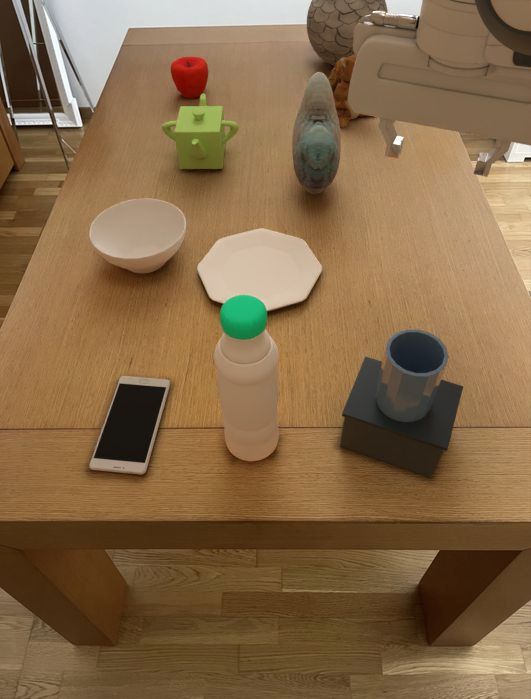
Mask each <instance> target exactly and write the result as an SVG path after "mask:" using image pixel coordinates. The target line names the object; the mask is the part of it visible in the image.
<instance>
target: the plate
mask: <svg viewBox="0 0 531 699" xmlns="http://www.w3.org/2000/svg"><path fill="white" fill-rule="evenodd" d="M196 271H197V274H198V275H199V278H200V280H201V283H202V284H203V287H204V289H205V291H206V294H207V296H208V298H209V300H211V301H212V302H214V303H217V304H220V305H223V304H224V303H225V302H226V301H227V300H229V299H230V298H232V297H235V296H236V295H237V296H239V295H249V296H250V295H251V296H254V297H255V298H258V299H259V300H261V302H263V303H264V305H265V307H266V309H267V313H269V312H273V311H276V310H280V309H283V308H286V307H290V306H294V305H297V304H301V303H303V302H304V301H305V300H307V299H308V297H309V295H310V294H311V292H312V290H313V288H314V286H315V284H316V282H317V281H318V279H319V278H320V275H321V274H322V273H323V266H322V264H321V263H320V261H319V259H318V258H317V257H316V255H315V253H314V252H313V250H312V249H311V248H310V246H309V245H308V243H307V242H306V240H304V239H303V238H301V237H297V236H293V235H290V234H286V233H282V232H279V231H275V230H271V229H268V228H260V227H259V228H255V229H251V230H247V231H244V232H243V231H242V232H239V233H235V234H231V235H227V236H223V237H221V238H219V239H218V240H216V241H215V242H214V244H212V246H211V248H210V249H209V251H207V253H206V254H205V255H204V257H203V258H202V259H201V261H199V263H198V264H197V266H196Z"/></svg>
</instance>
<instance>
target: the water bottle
mask: <svg viewBox="0 0 531 699" xmlns="http://www.w3.org/2000/svg"><path fill="white" fill-rule="evenodd" d="M219 322H220V325H221V329H222V332H223V333H222V335H221V337H220V338H219V340H218V342H217V343H216V345H215V347H214V352H213V353H214V354H213V362H214V366H215V369H216V380H217V381H216V382H217V389H218V390H217V391H218V396H219V397H218V398H219V403H220V407H221V412H222V414H221V418H222V425H223V428H224V429H223V430H224V433H223V434H224V441H225V445H226V447H227V449H228V451H229V453H231V454H232V455H233V456H234V457H235V458H237V459H239V460H241V461H245V462H257V461H258V462H259V461H261V460H264V459H266V458H268V457H269V456H271V454H273V452H274V451H276V448H277V446H278V443H279V438H280V432H279V416H280V415H279V408H278V405H279V404H278V403H279V393H280V392H279V388H280V386H279V384H280V382H279V368H278V364H279V360H280V359H279V358H280V354H279V349H278V346H277V343H276V342H275V340H274V338H273V337H272V336H271V335H270V334H269V332H268V330H266V329H267V324H268V312H267V309H266V307H265V305H264V303H263V302H261V300H259V299H258V298H255V297H254V296H251V295H250V296H249V295H239V296H237V295H236V296H235V297H232V298H230V299H229V300H227V301H226V302H225V303H224V304H221V307H220V310H219Z"/></svg>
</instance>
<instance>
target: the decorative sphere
mask: <svg viewBox="0 0 531 699" xmlns="http://www.w3.org/2000/svg"><path fill="white" fill-rule="evenodd" d="M373 11H384V12H387V13H389V12H388V11H389V10H388V6H387V2H386V0H311V1H310V3H309V7H308V10H307V15H306V32H307V37H308V40H309V43H310V46H311V47H312V49H313V51H314V52H315V53H316V55H317V56H318V57H319V58H320V59H321V60H322V61H323V62H325V63H327V64H329V65H330V66H333V67H335V65H336V63H337V61H339V60H340V59H341V58H343V57H345V58H348V57H349V56H352V55H355V53H354V50H353V38H354V29H355V26H356V24H357V22H358V21H359V20H360V19H361V18H362V17H364V16H366V15H371V13H372V12H373ZM365 22H370V20H367V21H365Z"/></svg>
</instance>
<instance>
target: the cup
mask: <svg viewBox="0 0 531 699" xmlns="http://www.w3.org/2000/svg"><path fill="white" fill-rule="evenodd" d="M449 356H450V355H449V352H448V349H447V346H446V345H445V344H444V342H443V341H442V340H441V339H440V338H439V337H437V336H436V335H434V334H433V333H431V332H429V331H425V330H422V329H416V328H415V329H414V328H413V329H412V328H411V329H409V328H408V329H407V328H406V329H403V330H400V331H398V332H395V333H394V334H393V335H392V336H391V337H389V338H388V340H387V343H386V344H385V348H384V353H383V358H382V365H381V370H380V374H379V379H378V383H377V388H376V395H375V398H376V403H377V405H378V407H379V408H380V410H381V411H382V412H383V413H384V414H385V415H386V416H388V417H389V418H391V419H394V420H396V421H400V422H414V421H418V420H420V419H422V418H423V417H425V416H426V415H427V413H428V412H429V410H430V409H431V406H432V403H433V400H434V398H435V395H436V392H437V390H438V387H439V384H440V381H441V380H443V379H442V378H443V375H444V373H445V370H446V367H447V365H448V361H449Z"/></svg>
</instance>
